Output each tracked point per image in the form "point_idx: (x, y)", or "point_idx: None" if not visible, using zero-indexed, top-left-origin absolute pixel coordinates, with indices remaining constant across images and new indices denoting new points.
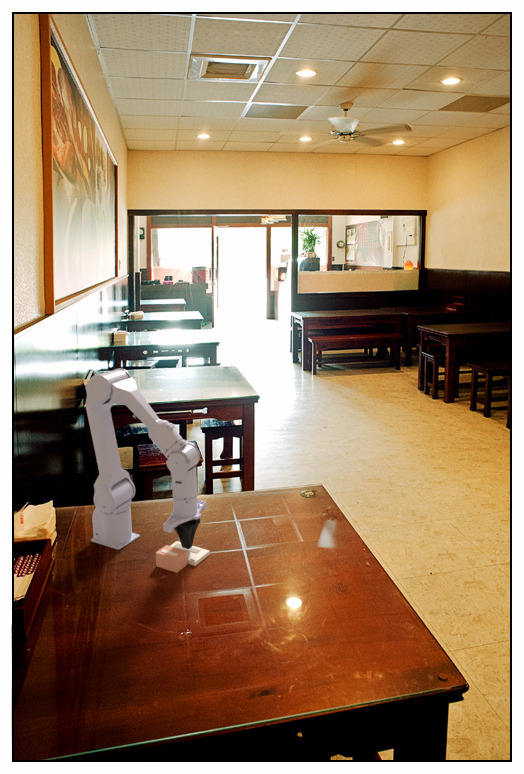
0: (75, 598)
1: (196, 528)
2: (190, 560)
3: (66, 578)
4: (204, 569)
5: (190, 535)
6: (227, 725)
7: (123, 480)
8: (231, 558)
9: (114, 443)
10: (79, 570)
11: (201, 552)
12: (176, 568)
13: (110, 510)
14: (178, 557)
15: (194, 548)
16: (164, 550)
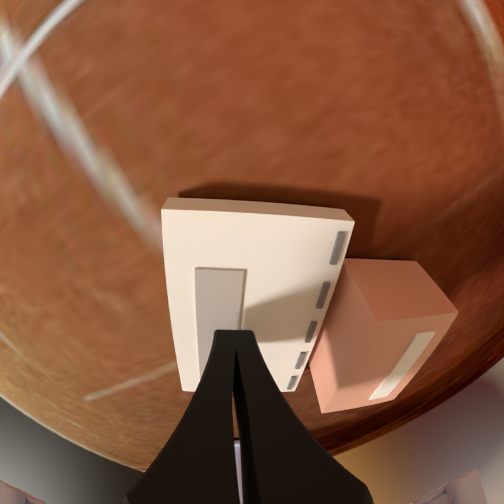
0: (475, 366)
1: (178, 448)
2: (342, 258)
3: (414, 414)
4: (351, 139)
5: (269, 419)
6: None
7: None
8: (139, 38)
9: None
10: (389, 421)
11: (215, 249)
12: (427, 276)
13: None
14: (445, 313)
15: (196, 309)
16: (379, 393)
